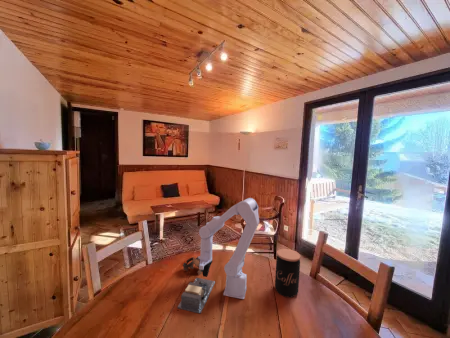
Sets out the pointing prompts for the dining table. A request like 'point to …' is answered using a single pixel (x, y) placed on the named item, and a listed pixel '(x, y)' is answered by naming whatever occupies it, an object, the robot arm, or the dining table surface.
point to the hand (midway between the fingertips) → (205, 275)
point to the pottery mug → (190, 265)
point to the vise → (196, 297)
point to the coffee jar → (287, 272)
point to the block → (194, 290)
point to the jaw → (200, 286)
